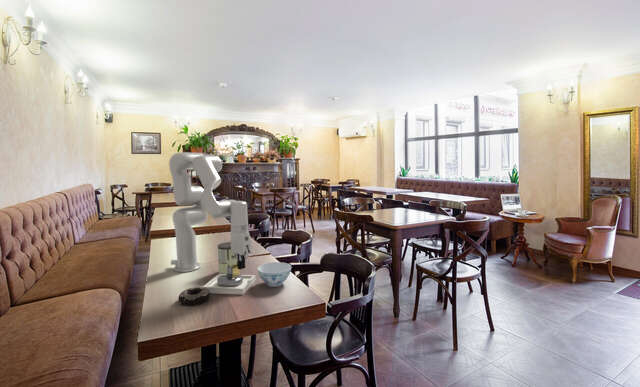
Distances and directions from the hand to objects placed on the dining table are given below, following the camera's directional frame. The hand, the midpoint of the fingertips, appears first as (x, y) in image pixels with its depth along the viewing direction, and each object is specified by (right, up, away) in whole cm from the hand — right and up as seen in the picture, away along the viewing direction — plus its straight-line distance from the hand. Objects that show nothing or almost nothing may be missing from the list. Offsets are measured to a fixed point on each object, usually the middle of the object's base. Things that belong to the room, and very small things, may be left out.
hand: (241, 268), depth 148 cm
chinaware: (+15, -7, 0) cm, 17 cm away
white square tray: (-4, -7, -3) cm, 9 cm away
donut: (-15, -9, -17) cm, 24 cm away
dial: (-4, -5, -3) cm, 7 cm away
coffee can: (-10, -6, +16) cm, 20 cm away
